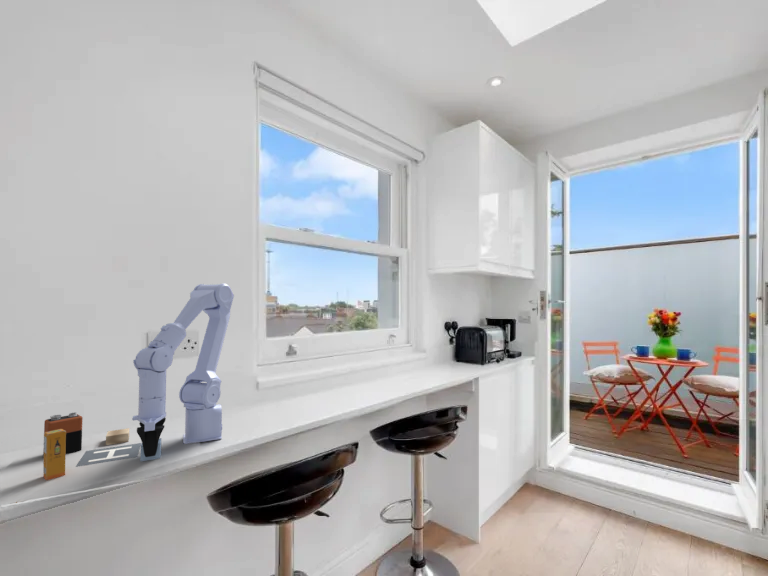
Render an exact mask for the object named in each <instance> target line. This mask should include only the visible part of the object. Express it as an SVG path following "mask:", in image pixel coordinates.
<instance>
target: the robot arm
mask: <svg viewBox="0 0 768 576" xmlns="http://www.w3.org/2000/svg"><path fill="white" fill-rule="evenodd" d="M189 294H190V295H189V297H190V298H189V300H188V301H187V302H186V304H185V305H184V307H183V308H182V310H181V311H180V313H179V314H178V316H176V318H175V320H174V321H173V322H170V323H166V324H165V325H162V327H160V331H159V332H158V334H157V335H156V336H155V337H154V339H153V340H152V341H150V342H149V344H148V346H147V347H145V348H141V349H140V350H139V351H138V353H137V354H136V356H135V358H134V359H133V361H132V362H133V366H134V368H135V369H136V370H137V376H138V378H139V379H138V411H137V413H138V414H137V415H133V416H132V417H131V418H132V420H131V421H138V422H139V423H138V424H139V426H140V427H139V426H137V427H136V433H137V435H138V436H139V439H140V440H141V444H142V445H143V450H144V454H145V457H150V456H155V455H156V452H157V447H158V441H159V438H161V435H162V433H163V431H164V429H165V424H164V423H165V422H166V418H167V412H166V407H167V406H166V402H167V401H166V400H167V396H166V395H167V394H166V393H167V370H168V369H169V367H170V366H171V365H172V364H173V359H174V358H173V357H174V355H175V352H176V350H177V349H178V347H179V346H180V345H181V343H182V342H183V341H184V339H185V338H186V337H187V331H186V330H187V328H188V327H189V326H190V325H191V324H192V323H193V321H194V320H195V319H196V318H197V317H198V316H199V315H200V314H201V313H202V311H203V312H204V313H205V314H207V315H208V318H209V319H208V322H207V327H206V329H205V334H204V337H203V340H202V344H201V347H200V351H199V355H198V358H197V362H196V366H195V369H194V370H193V371H192V372H191V373H189V374H188V375H187V376H186V378H185V380H184V383H183V385H181V387H180V390H179V392H178V395H179V397H178V398H179V400H180V402H181V403H182V404H183V408H185V423H184V424H185V426H184V434H183V437H182V438H183V439H182V440H183V445H186V444H192V443H203V442H210V441H216V440H221V439H222V432H223V431H222V430H223V423H222V421H223V420H222V419H223V415H222V414H223V413H222V411H223V409H222V404H219V403H218V402H219V400H220V398H221V394H222V393H221V391H222V390H221V384H222V380H221V378H220V376H218V375H217V373H216V372H217V370H218V369H217V367H218V364H219V361H220V356H221V352H222V349H223V345H224V340H225V337H226V333H227V330H228V325H229V322H230V317H231V308H232V305H233V300H234V297H235V294H234V293H233V290H232V288H231V287H230V285H228V283H219V284H218V283H217V284H213V283H212V284H204V283H203V284H202V283H200V284H197V285H196V286H195V287H194V289H192V290H191V292H190V293H189ZM217 403H218V404H217Z"/></svg>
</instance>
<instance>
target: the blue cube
mask: <svg viewBox="0 0 768 576" xmlns="http://www.w3.org/2000/svg"><path fill="white" fill-rule="evenodd" d="M161 455H162V438H161V437H160V438H159V441H158V447H157V452H156V455H155V456H150V457H145V454H144V450H143V445H142V443H141V446H140V460H139V461H140V462H144V461H151V460H158V459H159V460H160V458H161Z"/></svg>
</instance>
